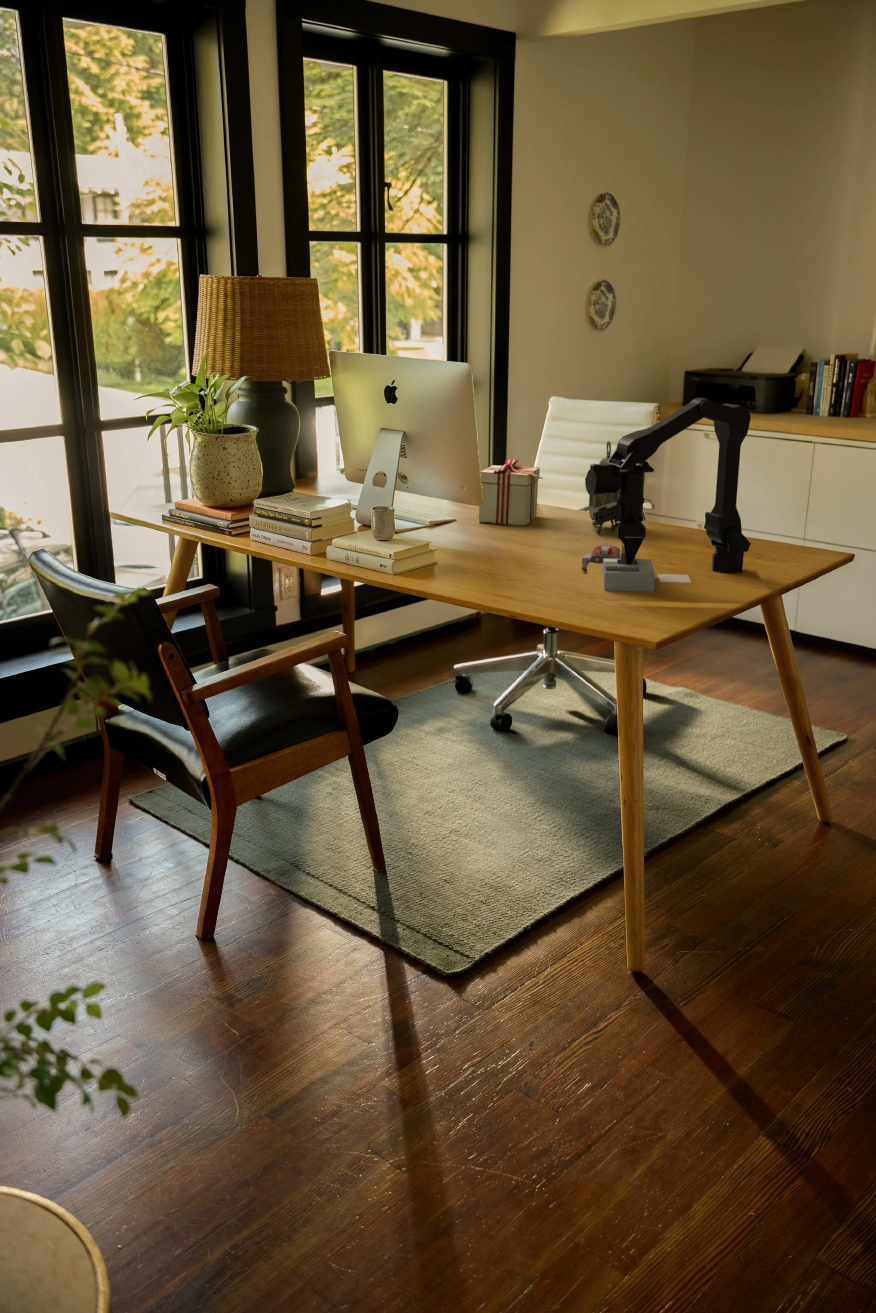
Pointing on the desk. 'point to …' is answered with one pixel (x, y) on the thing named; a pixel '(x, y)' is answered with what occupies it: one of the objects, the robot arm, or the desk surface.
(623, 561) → the plug
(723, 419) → the robot arm
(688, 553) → the desk surface
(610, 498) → the tabletop clock
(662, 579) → the plate
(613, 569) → the port block
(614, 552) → the red grey elongated piece
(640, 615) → the desk surface
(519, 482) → the gift box
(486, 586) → the desk surface
